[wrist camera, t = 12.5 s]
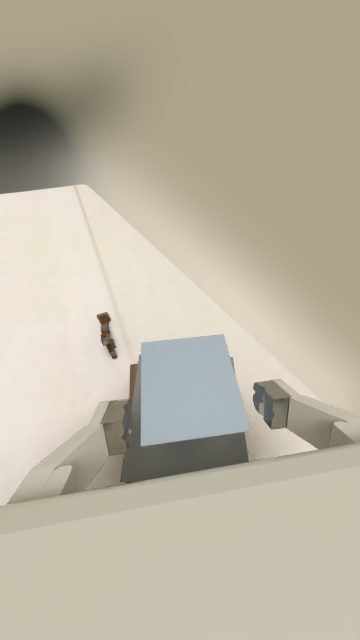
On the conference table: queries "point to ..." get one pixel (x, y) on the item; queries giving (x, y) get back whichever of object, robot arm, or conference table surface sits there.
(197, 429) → the slate blue block
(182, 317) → the conference table surface
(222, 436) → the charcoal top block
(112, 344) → the wooden post with brackets
